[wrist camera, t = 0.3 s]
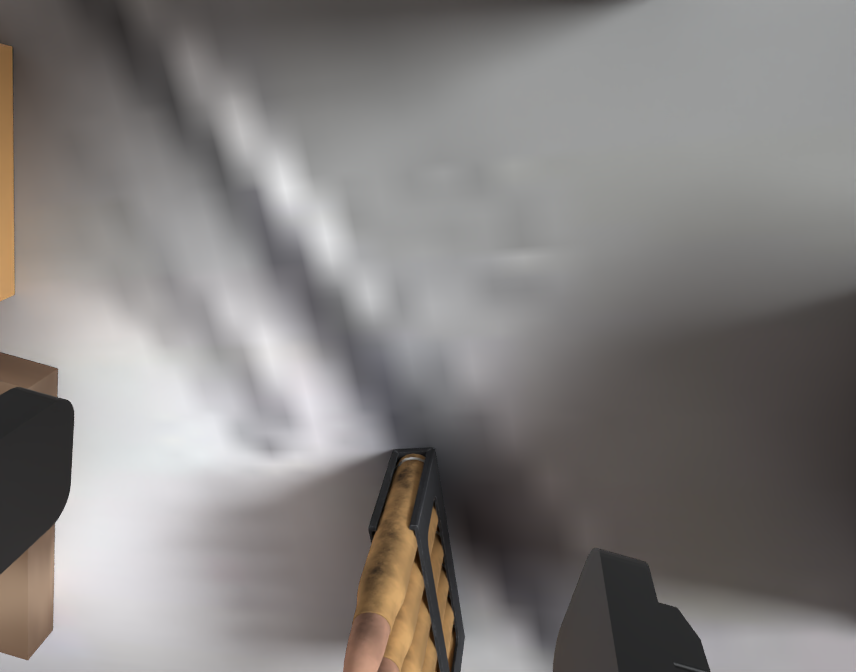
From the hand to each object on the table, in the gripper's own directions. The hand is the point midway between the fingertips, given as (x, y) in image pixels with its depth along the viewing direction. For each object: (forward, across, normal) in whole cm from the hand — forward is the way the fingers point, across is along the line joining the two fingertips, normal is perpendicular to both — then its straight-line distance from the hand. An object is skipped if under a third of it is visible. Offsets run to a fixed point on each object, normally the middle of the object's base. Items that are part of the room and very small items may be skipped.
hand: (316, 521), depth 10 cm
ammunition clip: (+18, -3, +13) cm, 23 cm away
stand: (+18, +22, +17) cm, 33 cm away
